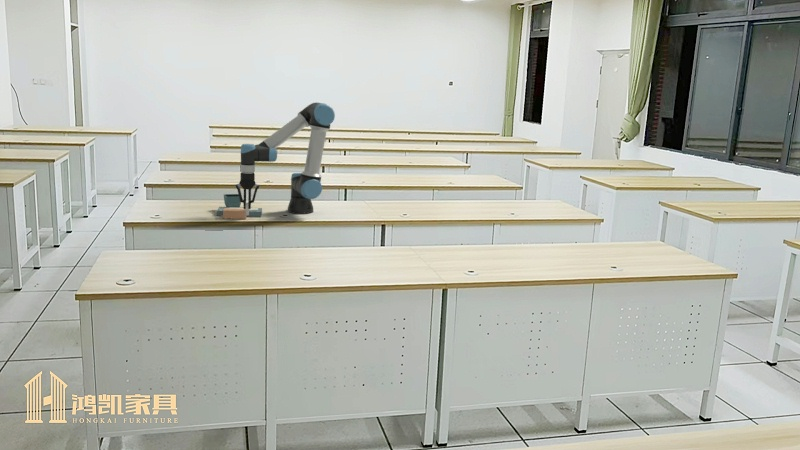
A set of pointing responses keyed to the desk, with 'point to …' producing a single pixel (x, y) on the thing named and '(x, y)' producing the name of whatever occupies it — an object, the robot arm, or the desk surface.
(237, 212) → the pink rectangular block
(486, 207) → the desk surface
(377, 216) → the desk surface
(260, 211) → the blue-grey flat slab
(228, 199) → the flower pot
